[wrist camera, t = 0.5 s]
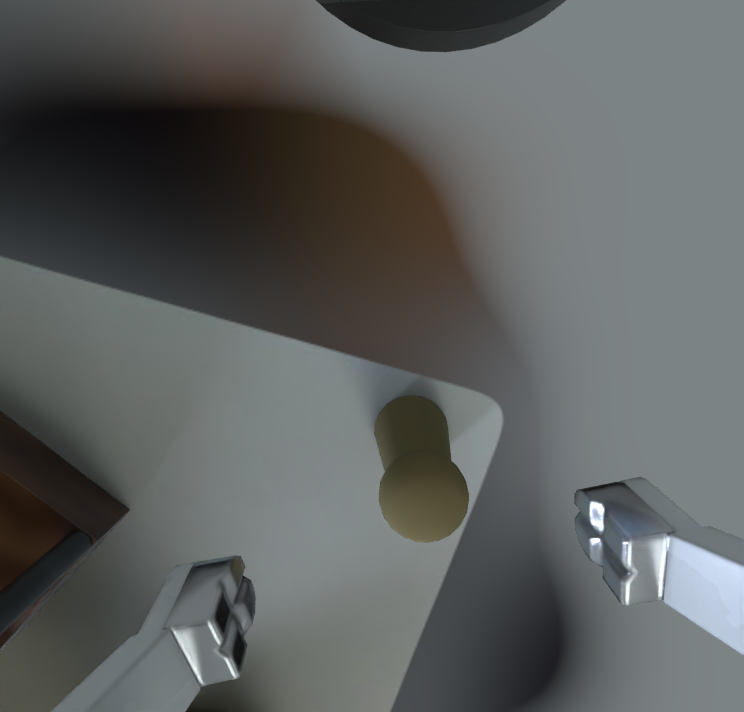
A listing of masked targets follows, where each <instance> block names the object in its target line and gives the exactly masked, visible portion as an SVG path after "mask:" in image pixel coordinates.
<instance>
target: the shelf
mask: <svg viewBox="0 0 744 712" xmlns="http://www.w3.org/2000/svg"><path fill="white" fill-rule="evenodd" d="M128 512H129V509H128V508H126V507H125V506H124V505H122V504H121V503H120V502H118V501H117V500H116V499H115V498H113V497H112V496H111V495H109V494H108V493H107V492H105V491H104V490H103V489H101V488H100V487H99V486H97V485H96V484H95V483H94V482H92V481H91V480H90V479H88V478H87V477H86V476H84V475H83V474H82V473H80V472H79V471H78V470H77V469H75V468H74V467H73V466H71V465H70V464H69V463H67V462H66V461H65V460H63V459H62V458H61V457H60V456H58V455H57V454H56V453H54V452H53V451H52V450H50V449H49V448H48V447H46V446H45V445H44V444H42V443H41V442H40V441H39V440H37V439H36V438H35V437H33V436H32V435H31V434H29V433H28V432H27V431H25V430H24V429H23V428H22V427H20V426H19V425H18V424H16V423H15V422H14V421H12V420H11V419H10V418H8V417H7V416H6V415H5V414H3V413H2V412H1V411H0V651H1V650H2V649H3V648H4V647H5V646H6V645H7V644H8V643H9V642H10V641H11V640H12V639H13V638H14V637H15V636H16V635H17V634H18V633H19V632H20V631H21V630H22V629H23V628H24V627H25V626H26V625H27V624H28V623H29V622H30V621H31V619H32V618H33V617H34V616H35V615H36V614H37V613H38V612H39V611H40V609H41V608H42V607H43V606H44V605H45V604H46V603H47V602H48V601H49V599H50V598H51V597H52V596H53V595H54V594H55V593H56V592H57V591H58V589H59V588H60V587H61V586H62V585H63V584H64V583H65V582H66V581H67V579H68V578H69V577H70V576H71V575H72V574H73V573H74V572H75V571H76V570H77V568H78V567H79V566H80V565H81V564H82V563H83V562H84V561H85V560H86V558H87V557H88V556H89V555H90V554H91V553H92V552H93V551H94V550H95V548H96V547H97V546H98V545H99V544H100V543H101V542H102V541H103V540H104V538H105V537H106V536H107V535H108V534H109V533H110V532H111V531H112V530H113V528H114V527H115V526H116V525H117V524H118V523H119V522H120V521H121V520H122V518H123V517H124V516H125V515H126V514H127V513H128Z"/></svg>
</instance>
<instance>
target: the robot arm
mask: <svg viewBox="0 0 744 712" xmlns="http://www.w3.org/2000/svg"><path fill="white" fill-rule="evenodd" d="M575 505H576V506H577V507H578V508H579V510H580V512H579V513H578V515H577V516H576V517H575V530H576V534H577V537H578V540H579V543H580V545H581V547H582V549H583V550H584V552H585V554H586V555H587V557H588V558H589V559H590V561H592V562H593V563H595V564H597V565H599V566H601V567H602V568H603V579H604V581H605V582H606V584H607V585H608V586H609V588H610V589H611V590H612V592H613V593H614V594H615V596H616V597H617V599H618V600H619V602H620V603H621V604H622V606H626V605H631V604H638V603H645V602H651V601H657V600H664V603H666V604H667V605H669V606H670V607H672V608H673V609H675V610H676V611H678V612H679V613H681V614H683V615H684V616H685V617H687V618H688V619H690V620H691V621H693V622H695V623H696V624H697V625H699V626H700V627H702V628H703V629H705V630H706V631H708V632H709V633H711V634H712V635H714V636H716V637H717V638H718V639H720V640H722V641H723V642H725V643H726V644H728V645H730V646H731V647H732V648H734V649H735V650H737V651H738V652H740V653H741V654H743V655H744V539H741V538H739V537H736V536H734V535H731V534H728V533H726V532H723V531H721V530H718V529H716V528H713V527H710V526H708V527H702V526H700V525H699V524H698V523H697V522H696V521H694V520H693V519H692V518H691V517H690V516H689V515H688V514H686V513H685V512H684V511H683V510H682V509H681V508H679V507H678V506H677V505H676V504H675V503H674V502H673V501H671V500H670V499H669V498H668V497H667V496H666V495H664V494H663V493H662V492H661V491H660V490H659V489H657V488H656V487H655V486H654V485H653V484H651V483H650V482H649V481H648V480H647V479H645V478H642V477H637V478H633V479H628V480H623V481H619V482H614V483H609V484H604V485H599V486H594V487H589V488H584V489H579V490H577V491H576V493H575ZM244 569H245V565H244V562H243V560H242V558H241V556H230V557H224V558H218V559H212V560H206V561H200V562H196V563H191V564H184V565H178V566H176V567H174V568H173V569H172V570H171V571H170V573H169V575H168V576H167V578H166V580H165V582H164V584H163V586H162V588H161V590H160V592H159V594H158V596H157V598H156V600H155V602H154V604H153V605H152V607H151V609H150V611H149V613H148V615H147V617H146V619H145V621H144V623H143V625H142V627H141V629H140V631H139V632H138V634H137V635H133V636H130V637H129V638H128V639H127V640H126V641H125V642H124V643H123V644H122V645H121V646H119V647H118V648H117V649H116V650H115V651H114V652H113V653H112V654H111V655H110V656H109V657H108V658H107V659H106V660H105V661H103V662H102V663H101V664H100V665H99V666H98V667H97V668H96V669H95V670H94V671H93V672H92V673H91V674H90V675H89V676H87V677H86V678H85V679H84V680H83V681H82V682H81V683H80V684H79V685H78V686H77V687H76V688H75V689H74V690H73V691H71V692H70V693H69V694H68V695H67V696H66V697H65V698H64V699H63V700H62V701H61V702H60V703H59V704H58V705H57V706H55V707H54V708H53V709H52V710H51V711H50V712H185V711H186V710H187V708H188V707H189V705H190V704H191V703H192V701H193V700H194V698H195V697H196V695H197V694H198V692H199V691H200V689H201V688H200V687H201V686H205V685H210V684H214V683H219V682H223V681H228V680H232V679H237V678H239V677H240V673H241V669H242V665H243V661H244V657H245V653H246V649H247V643H246V641H245V639H244V635H245V633H246V632H247V631H248V630H249V628H250V627H251V626H252V624H253V619H254V615H255V600H256V598H255V592H254V587H253V584H252V582H251V580H250V579H248V578H247V577H245V576H243V573H244Z"/></svg>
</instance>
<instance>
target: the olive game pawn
mask: <svg viewBox="0 0 744 712" xmlns="http://www.w3.org/2000/svg"><path fill="white" fill-rule="evenodd" d="M375 437H376V441H377V445H378V448H379V452H380V456H381V459H382V463H383V467H384V470H385V473H384V475H383V477H382V479H381V482H380V490H379V503H380V506H381V510H382V513H383V516H384V518H385V519H386V521H387V522H388V524H389V525H390V527H391V528H392V529H394V530H395V531H396V532H397V533H399V534H400V535H401V536H403V537H405V538H407V539H410V540H413V541H415V542H426V543H428V542H433V541H438V540H441V539H443V538H445V537H447V536H449V535H451V534H452V533H453V532H454V531H455V530H456V529H457V528H458V527H459V526H460V524H461V523H462V521H463V519H464V517H465V515H466V513H467V509H468V501H469V493H468V489H467V484H466V481H465V479H464V476H463V475H462V473H461V472H460V470H459V468H458V467H457V466H456V465H455V464H454V463H453V462H452V461H451V453H450V443H449V433H448V426H447V421H446V417H445V416H444V414H443V412H442V411H441V409H440V408H439V407H438V406H437V405H435V404H434V403H433V402H432V401H430V400H427V399H425V398H422V397H418V396H406V397H401V398H397V399H395V400H394V401H392V402H390V403H388V404H387V405H386V406H385V407H384V408H383V409H382V411H381V412H380V413H379V415H378V418H377V420H376V422H375Z"/></svg>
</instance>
